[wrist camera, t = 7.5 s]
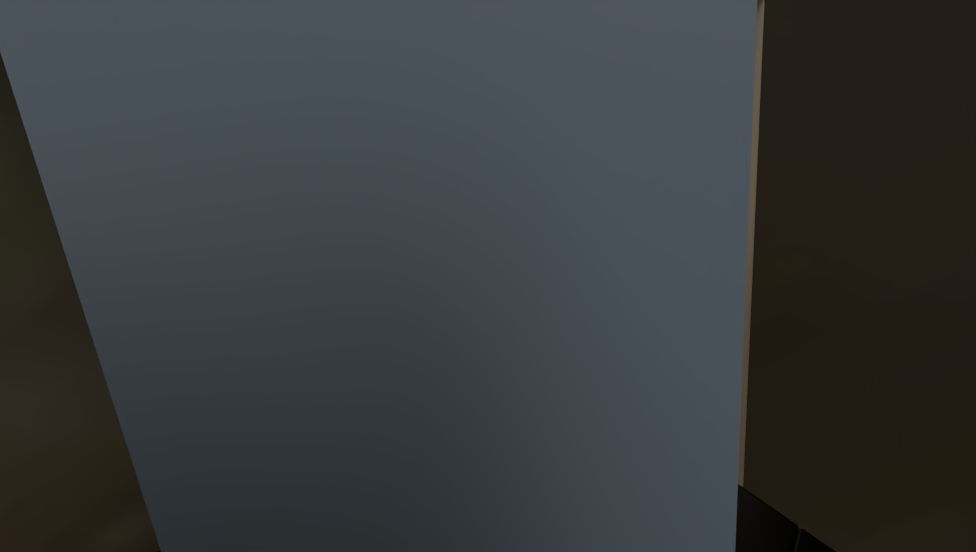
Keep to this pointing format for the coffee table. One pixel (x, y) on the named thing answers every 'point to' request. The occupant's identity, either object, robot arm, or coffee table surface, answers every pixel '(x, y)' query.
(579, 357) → the slate grey rectangular prism
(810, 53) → the coffee table surface
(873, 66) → the coffee table surface
